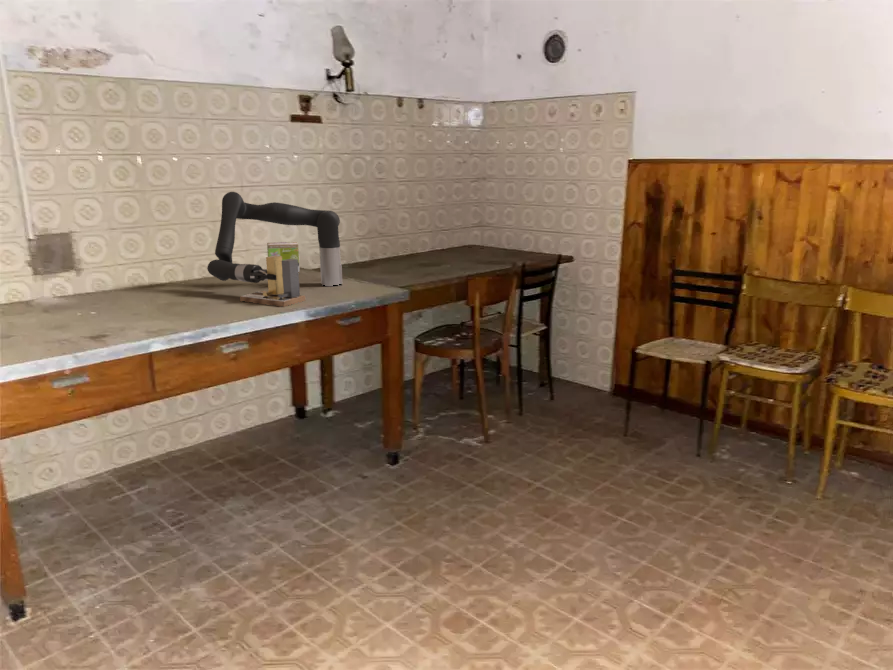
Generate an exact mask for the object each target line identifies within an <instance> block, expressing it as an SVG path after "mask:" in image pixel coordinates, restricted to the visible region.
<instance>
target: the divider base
mask: <svg viewBox="0 0 893 670" xmlns="http://www.w3.org/2000/svg"><path fill="white" fill-rule="evenodd" d="M282 274H283V289H284V293H281V294H277V295H274V294H273V295H269V296H267V297H264V296H263V292H267V290H261V291H255V292H253V293H248V294H243V295H240V296H239V301H240V302H242V301H245V302H244V303H249V302H253V303H252V304H257V303H259V304H258V305H265V304H267V305H268V306H273V305H276V306H275V307H281V306H283V307H282V308H285V306H286V307H289V306H292V305H291V304H293V305H296V304H299V303H302V301H303V302H306V295H301V291H300V277H299V274H300V272H299V273H298V260H297V259H287V260H282ZM298 302H299V303H298ZM295 303H296V304H295ZM267 305H266V306H267ZM288 305H289V306H288Z"/></svg>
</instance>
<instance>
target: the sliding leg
mask: <svg viewBox="0 0 893 670" xmlns="http://www.w3.org/2000/svg"><path fill="white" fill-rule="evenodd" d="M265 259H266V260H265V261H266V269H267V274H275V275H276V280H267V288H268V289H267V290H268V291H267V290H266V291H267V292H263V296H264V297H267V296H269V295H273V294H274V295H277V294H281V293H284V289H283V274H282V256H270V257H268V256H267V257H265Z"/></svg>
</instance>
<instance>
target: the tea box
mask: <svg viewBox="0 0 893 670" xmlns="http://www.w3.org/2000/svg"><path fill="white" fill-rule="evenodd" d="M266 243H267V244H266V248H267V257H270V256H282V260H287V259H297V260H298V272H299V273H300V255H299V254H300V253H299V251H300V250H299V243H298V241H283V242H282V241H278V242H266Z"/></svg>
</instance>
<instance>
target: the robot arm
mask: <svg viewBox="0 0 893 670" xmlns="http://www.w3.org/2000/svg"><path fill="white" fill-rule="evenodd" d="M220 217H221V219H220V226H219V232H218V237H217V241H216V244H215V245H216V246H215V249H214V254H215V256H216V257H217V259H213V260H211V261H210V262H209V263H208V264H207V266H206V268H207V272H208V274H209V275H211V276H213V277H215V278H216V279H218V280H220V281H223V282H225V281H228V280H229V279H230V280H233V281H241V282H246V283H252V284H253V283H255V284H258V283H260V282H263V281H268V280H276V275H275V274H267V268H262V266H261V265H259V264H252V263H251V264H250V263H233V251H234V245H235V238H236V221H237V220H254V221H261V222H265V223H266V222H267V223H272V224H278V225H284V226H308V227H309V226H310V227H315V228H316V229H317V239H318V240H317V241H318V246H319V247H318V248H319V265H320V267H319V269H320V284H322V285H321V286H323V285H325V286H324V287H334V286H333V285H338V286H340V285H339V284H343V267H342V263H341V262H342V261H341V259H342V258H341V240H340V237H339V236H340V235H339V225H340V223H341V220H340V219H341V218H340V216H339V215H338V214H337V212H335V211H333V210H324V209H323V210H322V209H321V210H320V209H310V208H306V207H302V206H298V205H292V204H289V203H281V202H267V203H263V204H253V203H249V202H246V201H244V198H243V197H242V195H240V194H239V192H236V191H229V192H226V193H225V194H224V195H223V197H222V200H221V216H220Z"/></svg>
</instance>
